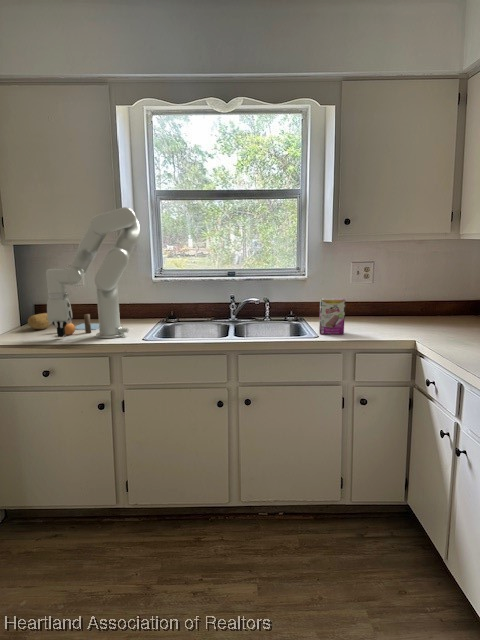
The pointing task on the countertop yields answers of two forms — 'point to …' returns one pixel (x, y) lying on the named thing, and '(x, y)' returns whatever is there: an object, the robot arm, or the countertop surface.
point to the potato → (39, 321)
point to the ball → (69, 329)
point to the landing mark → (82, 326)
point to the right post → (87, 323)
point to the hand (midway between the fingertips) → (61, 335)
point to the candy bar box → (332, 316)
